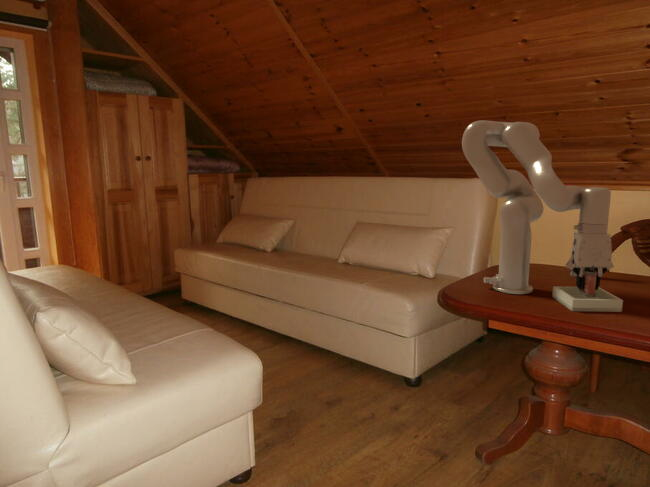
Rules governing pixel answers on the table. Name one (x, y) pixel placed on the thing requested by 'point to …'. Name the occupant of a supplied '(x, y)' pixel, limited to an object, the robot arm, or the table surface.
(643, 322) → the table surface
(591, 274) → the lighter
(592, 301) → the tray
